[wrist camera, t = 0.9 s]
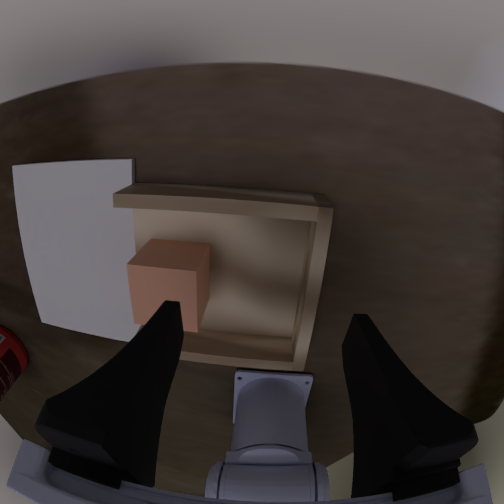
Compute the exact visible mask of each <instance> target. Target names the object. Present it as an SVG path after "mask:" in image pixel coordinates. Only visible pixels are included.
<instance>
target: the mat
mask: <svg viewBox="0 0 504 504" xmlns="http://www.w3.org/2000/svg"><path fill="white" fill-rule="evenodd" d="M12 167H13V180H14V191H15V200H16V208H17V216H18V222H19V229H20V235H21V240H22V246H23V251H24V256H25V260H26V265H27V269H28V274H29V278H30V282H31V286H32V290H33V294H34V297H35V301H36V304H37V308H38V311H39V314H40V318H41V321H42V322H43V323H47V324H51V325H54V326H58V327H62V328H66V329H71V330H75V331H79V332H83V333H88V334H92V335H97V336H102V337H106V338H111V339H116V340H122V341H127V342H129V341H130V340H131V339H132V338H133V337H134V336H135V335H136V333H137V331H138V330H139V328H140V326H141V325H140V324H134V318H133V311H132V305H131V297H130V290H129V282H128V274H127V265H126V264H127V263H128V262H129V261H130V260H131V259H132V258H133V257H134V256H135V255H136V250H135V237H134V221H133V208H113V193H115V192H117V191H119V190H121V189H123V188H125V187H127V186H129V185H131V184H133V183H135V158H131V159H92V160H71V161H56V162H42V163H31V164H20V165H14V166H12Z"/></svg>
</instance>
